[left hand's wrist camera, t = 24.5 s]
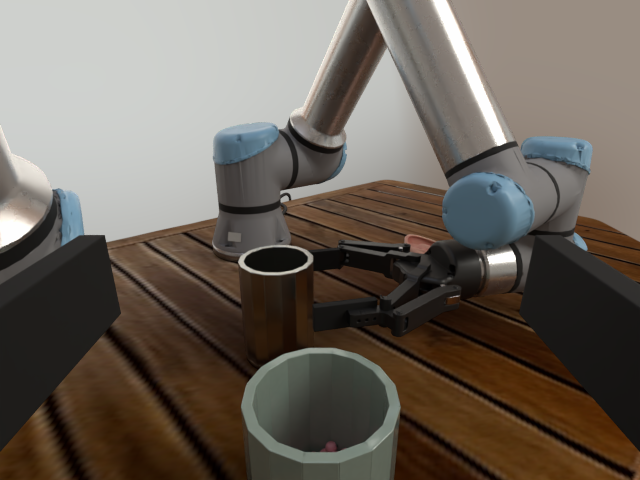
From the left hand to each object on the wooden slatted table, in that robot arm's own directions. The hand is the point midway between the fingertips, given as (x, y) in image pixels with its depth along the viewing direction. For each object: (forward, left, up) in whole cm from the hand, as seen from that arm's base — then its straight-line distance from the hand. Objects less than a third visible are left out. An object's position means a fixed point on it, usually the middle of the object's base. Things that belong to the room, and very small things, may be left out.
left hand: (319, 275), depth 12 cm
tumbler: (-24, +17, -24) cm, 38 cm away
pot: (-7, +7, -24) cm, 26 cm away
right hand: (-22, +19, -16) cm, 34 cm away
